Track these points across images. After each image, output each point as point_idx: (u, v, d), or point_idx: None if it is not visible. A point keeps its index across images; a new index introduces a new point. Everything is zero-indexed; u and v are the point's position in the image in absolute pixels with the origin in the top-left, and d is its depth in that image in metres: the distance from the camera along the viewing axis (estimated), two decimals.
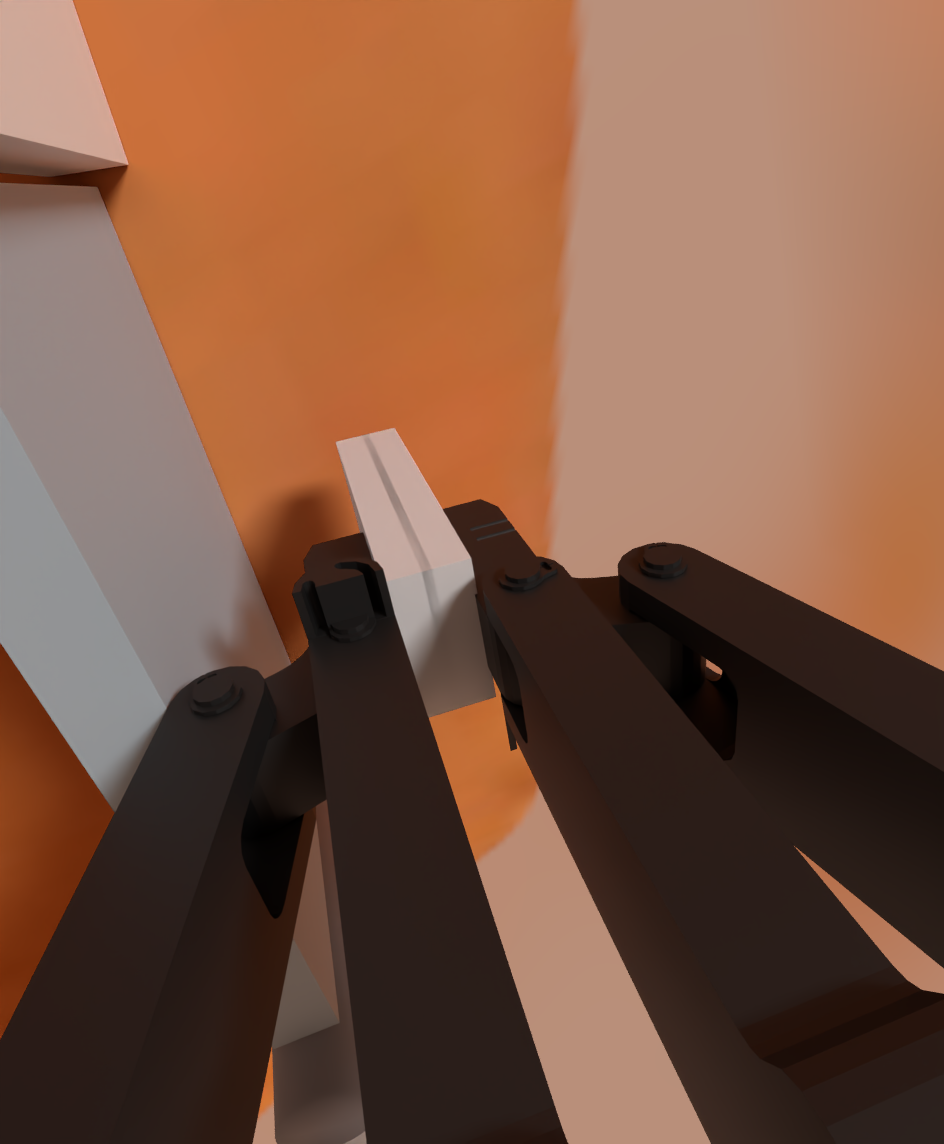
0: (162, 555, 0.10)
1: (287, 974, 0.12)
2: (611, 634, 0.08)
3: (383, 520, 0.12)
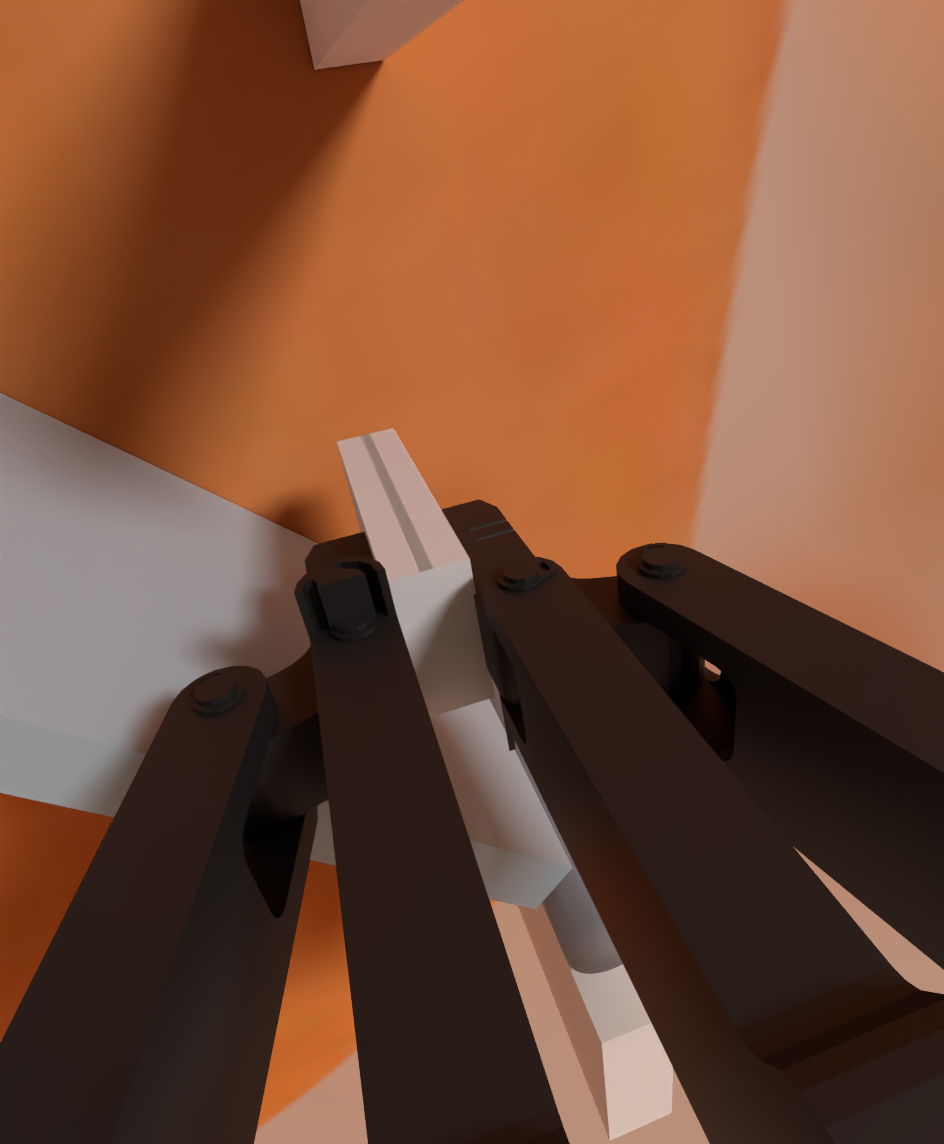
0: (142, 632, 0.11)
1: (487, 861, 0.12)
2: (610, 634, 0.08)
3: (384, 520, 0.12)
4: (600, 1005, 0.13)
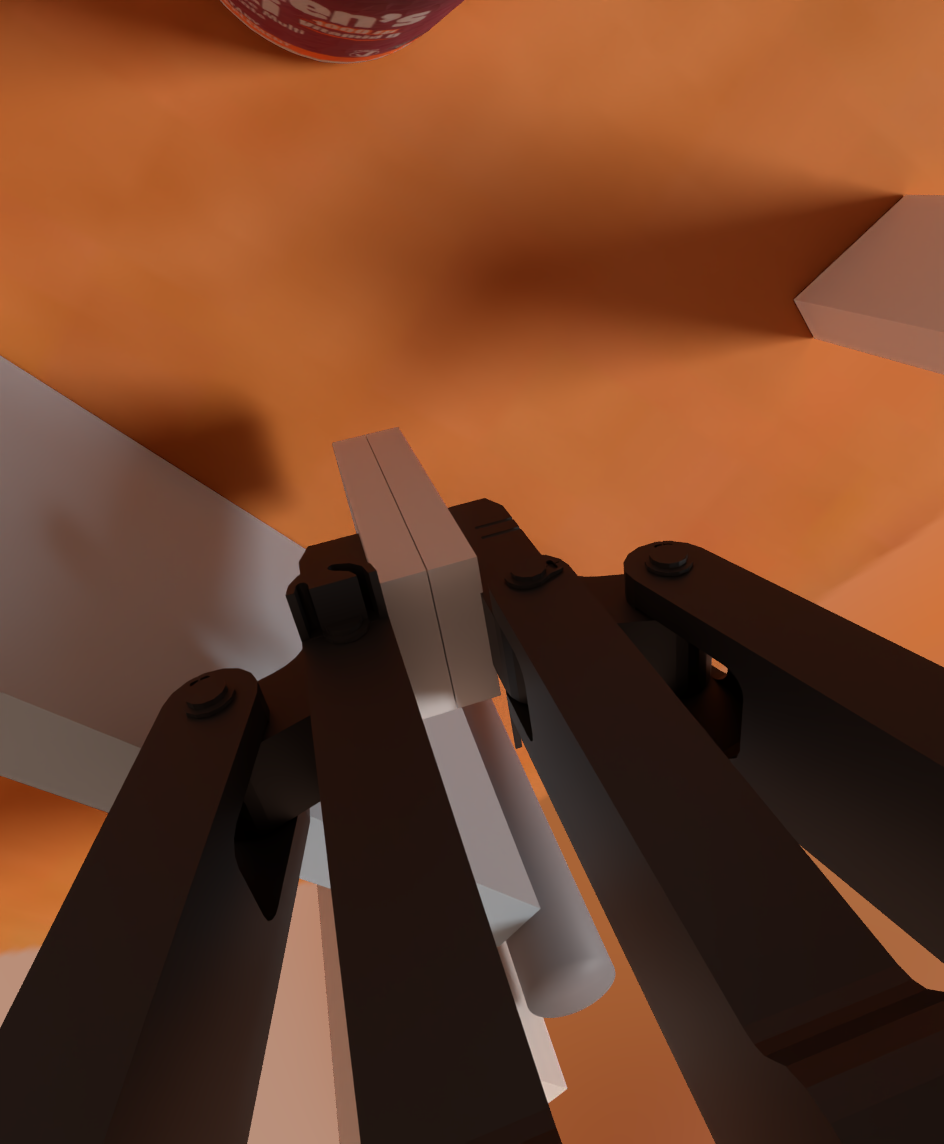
0: (146, 627, 0.11)
1: None
2: (617, 632, 0.08)
3: (378, 521, 0.12)
4: None
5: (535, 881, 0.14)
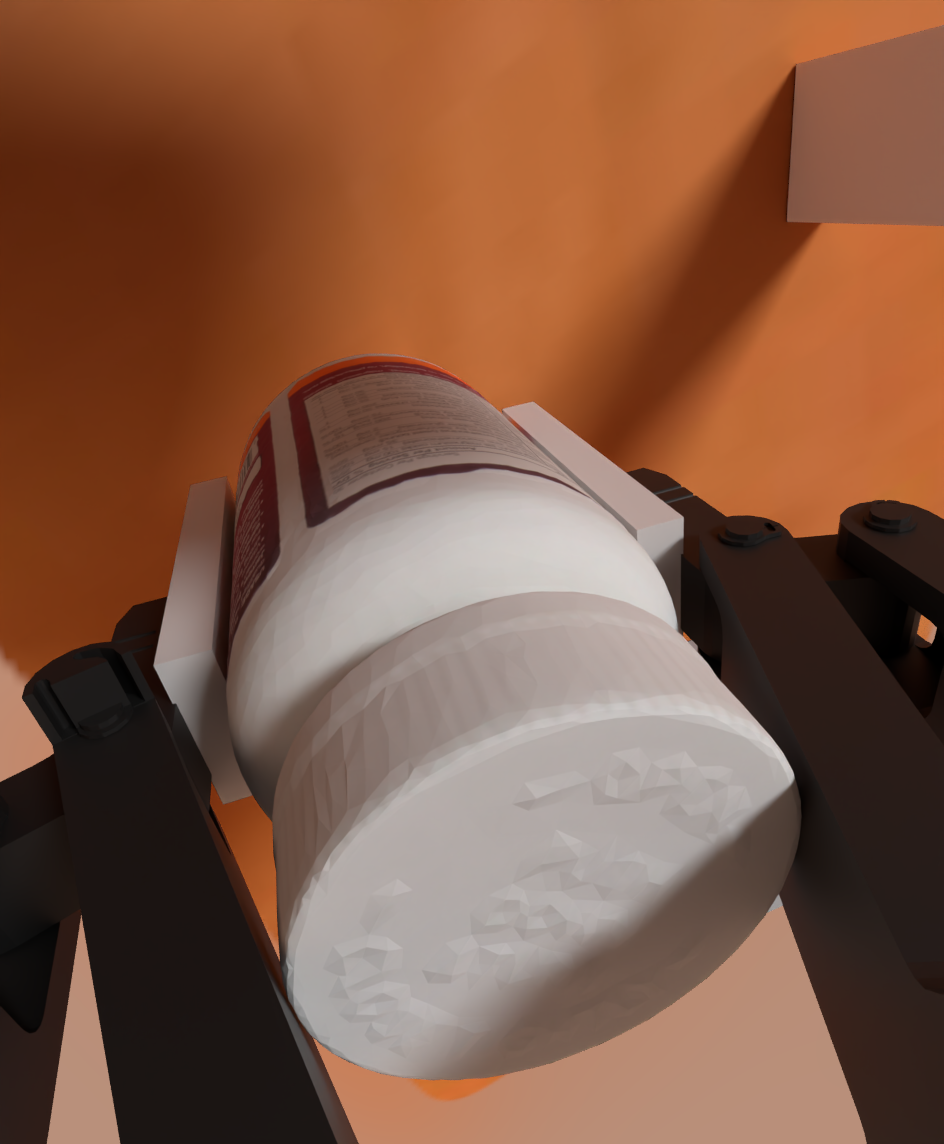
0: None
1: None
2: (831, 600, 0.08)
3: (191, 584, 0.11)
4: None
5: None
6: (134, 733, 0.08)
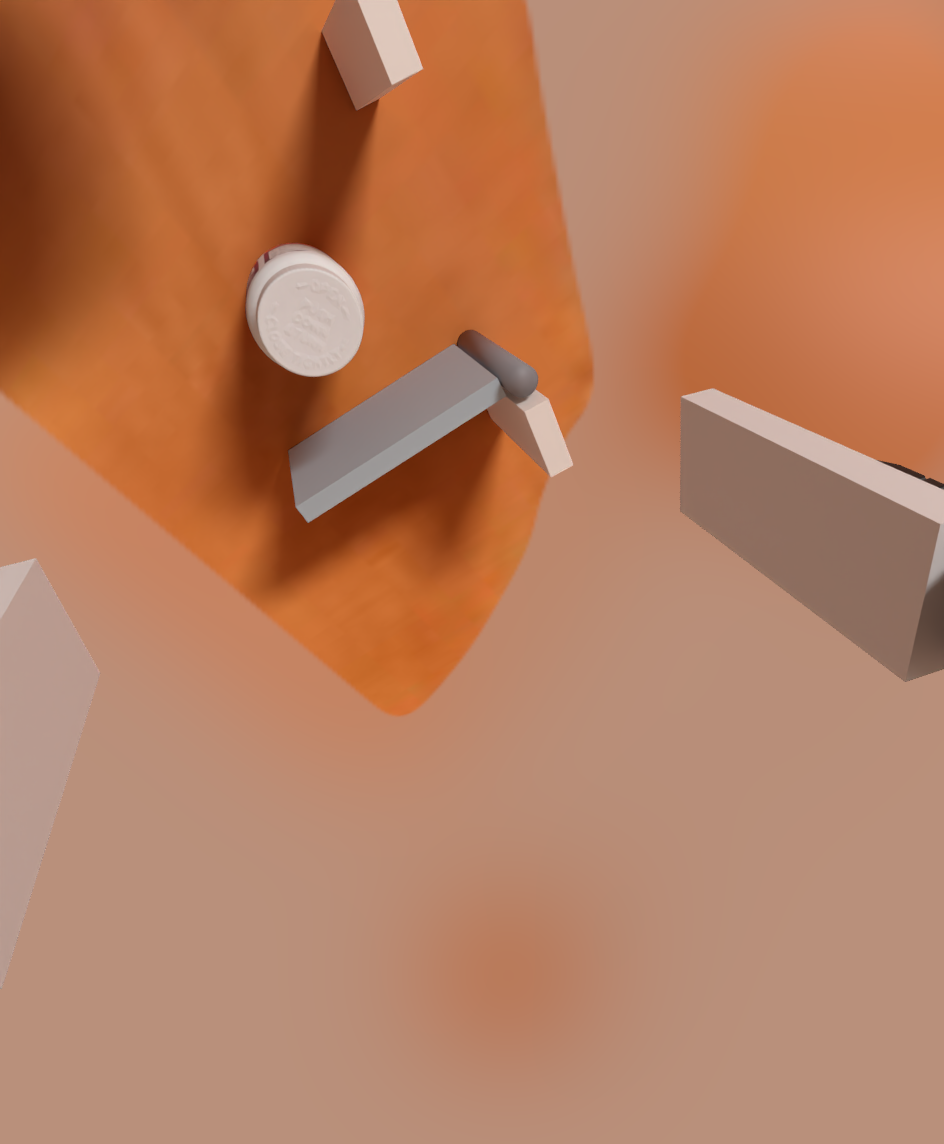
0: (363, 444, 0.42)
1: (471, 401, 0.39)
2: None
3: None
4: (525, 406, 0.39)
5: (497, 372, 0.40)
6: None
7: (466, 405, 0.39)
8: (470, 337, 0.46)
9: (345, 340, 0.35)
